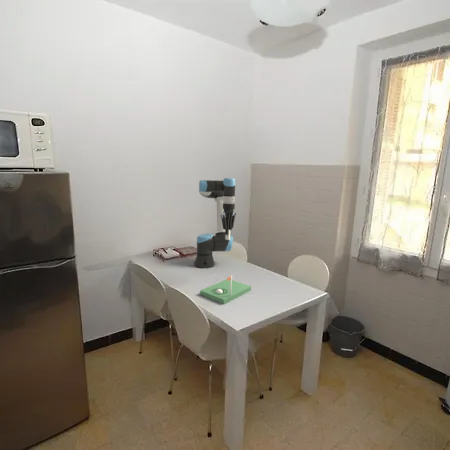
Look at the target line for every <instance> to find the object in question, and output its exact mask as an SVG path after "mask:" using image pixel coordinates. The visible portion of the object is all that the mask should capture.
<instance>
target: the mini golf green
mask: <svg viewBox="0 0 450 450" xmlns="http://www.w3.org/2000/svg"><path fill="white" fill-rule="evenodd" d="M217 289H221V290H222V291H223V293H216V290H217ZM251 291H252V286H251V285H248V284H245V283H242V282H239V281H236V280H233V275H230V276H227V277H226V279H224V280H221V281H219V282H217V283H214V284H212V285H210V286H208V287H205V288H203V289H201V290H199V295H201V296H203V297H206V298H208V299H210V300H213V301H216V302H217V303H221V304H222V305H226V304H228V303H229V302H231V301H233V300H235V299H237V298H239V297H242V295H245V294H246V293H247V294H248V293H249V292H251Z"/></svg>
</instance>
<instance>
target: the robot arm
mask: <svg viewBox="0 0 450 450" xmlns="http://www.w3.org/2000/svg"><path fill="white" fill-rule="evenodd" d="M198 192H199V194H200V195H201V196H202V197H204V198H207V199H213V200H214V202H215V203H216V204H215V205H216V206H215V207H216V232H215V234H214V235H213V233H202V234H199V235H198V236H197V237H196V257H195V259H194V265H193V266H195V268H201V269H210V268H213V267H215V265H216V264H215V260H214V256H213V255H214V254H213V252H215V253H216V252H230V251H232V248H233V243H234V236H233V235H231V234H232V232H231V230H233V228H234V224H235V220H236V215H237V213H236V212H235V211H234V210H235V207H236V206H235V201H236V178H234V177H223V180H217V179H215V180H209V179H207V180H206V179H202V180H199V182H198Z"/></svg>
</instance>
